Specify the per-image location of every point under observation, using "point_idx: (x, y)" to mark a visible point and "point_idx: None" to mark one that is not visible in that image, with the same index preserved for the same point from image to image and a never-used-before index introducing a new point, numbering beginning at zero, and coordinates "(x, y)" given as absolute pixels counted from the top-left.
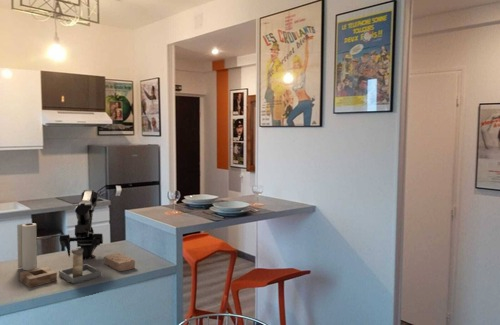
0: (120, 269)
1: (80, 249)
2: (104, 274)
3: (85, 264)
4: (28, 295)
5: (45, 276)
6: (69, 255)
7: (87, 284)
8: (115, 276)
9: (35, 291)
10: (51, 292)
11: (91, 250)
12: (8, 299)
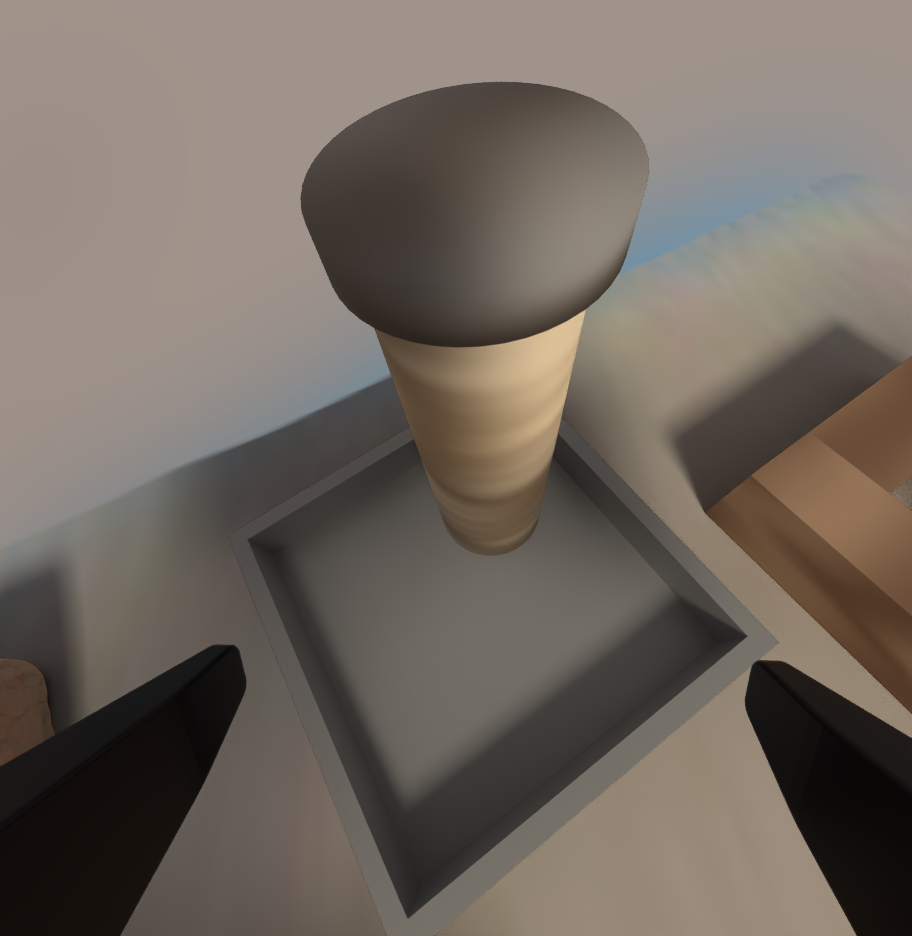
0: (13, 659)
1: (384, 173)
2: (221, 608)
3: (422, 925)
4: (788, 254)
5: (838, 411)
6: (759, 687)
7: (392, 385)
8: (137, 529)
9: (776, 305)
10: (637, 283)
11: (110, 720)
12: (896, 214)
